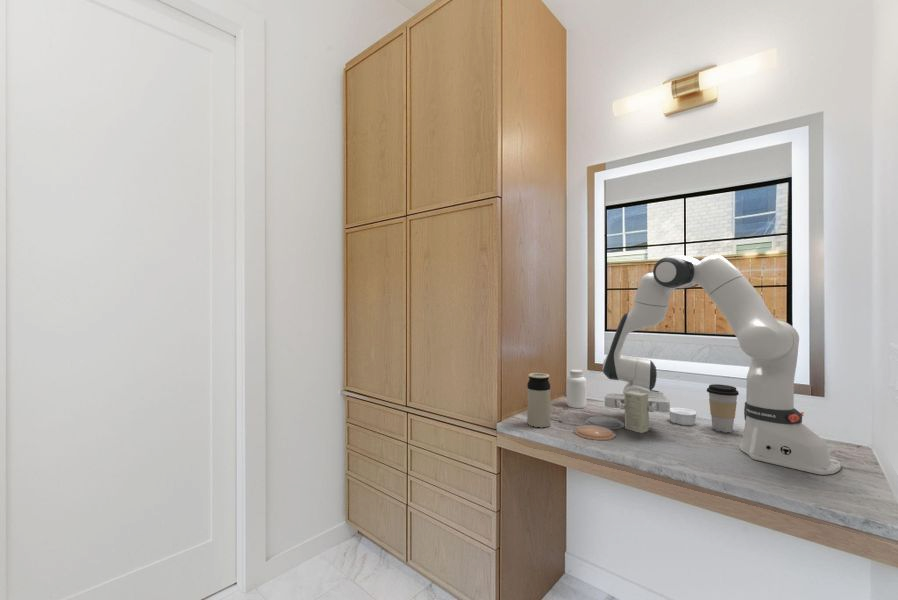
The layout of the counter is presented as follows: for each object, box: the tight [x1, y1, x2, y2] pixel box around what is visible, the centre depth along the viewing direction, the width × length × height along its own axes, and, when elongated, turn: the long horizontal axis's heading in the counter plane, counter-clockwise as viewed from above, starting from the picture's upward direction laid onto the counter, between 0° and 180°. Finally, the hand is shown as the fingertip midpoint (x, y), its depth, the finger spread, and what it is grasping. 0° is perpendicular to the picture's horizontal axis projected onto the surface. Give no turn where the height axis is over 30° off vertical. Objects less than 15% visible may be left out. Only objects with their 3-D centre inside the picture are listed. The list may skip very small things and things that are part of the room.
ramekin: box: [669, 407, 697, 426], centre depth 153 cm, size 9×9×4 cm
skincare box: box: [624, 391, 650, 434], centre depth 137 cm, size 6×4×12 cm
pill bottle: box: [566, 369, 588, 409], centre depth 175 cm, size 8×8×15 cm
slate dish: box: [585, 415, 625, 431], centre depth 151 cm, size 13×13×1 cm
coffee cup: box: [705, 383, 740, 433], centre depth 144 cm, size 9×9×15 cm
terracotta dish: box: [573, 424, 616, 441], centre depth 140 cm, size 13×13×1 cm
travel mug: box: [526, 372, 551, 429], centre depth 149 cm, size 8×8×18 cm
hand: (636, 408), depth 136 cm, fingers closed on skincare box, 7 cm apart
